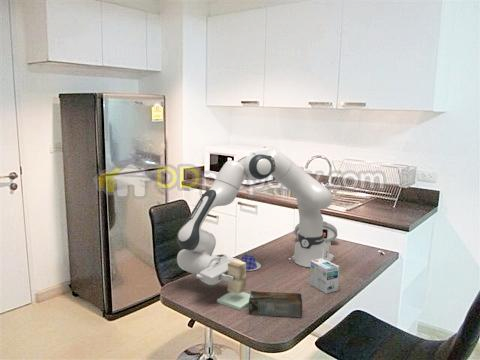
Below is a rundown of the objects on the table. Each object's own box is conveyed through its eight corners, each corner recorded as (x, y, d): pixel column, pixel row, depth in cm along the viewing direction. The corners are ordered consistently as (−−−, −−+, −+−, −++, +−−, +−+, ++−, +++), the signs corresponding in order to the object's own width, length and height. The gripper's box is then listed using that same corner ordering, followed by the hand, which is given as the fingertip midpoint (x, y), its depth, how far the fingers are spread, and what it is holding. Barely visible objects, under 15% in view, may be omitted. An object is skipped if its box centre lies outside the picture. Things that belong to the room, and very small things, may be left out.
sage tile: (234, 291, 163) (234, 289, 163) (256, 299, 157) (257, 296, 157) (217, 302, 154) (217, 299, 154) (240, 310, 148) (240, 307, 148)
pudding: (264, 264, 193) (264, 254, 192) (255, 273, 182) (255, 262, 181) (241, 260, 197) (241, 250, 196) (231, 269, 186) (231, 258, 185)
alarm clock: (293, 243, 223) (294, 220, 220) (294, 239, 229) (295, 217, 226) (336, 246, 218) (338, 223, 216) (336, 242, 224) (337, 220, 222)
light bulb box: (338, 290, 165) (340, 265, 163) (326, 294, 162) (327, 269, 160) (321, 281, 174) (322, 257, 172) (309, 284, 171) (310, 260, 169)
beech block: (235, 286, 158) (235, 259, 156) (245, 289, 155) (246, 262, 153) (227, 290, 154) (227, 263, 152) (238, 294, 151) (238, 266, 149)
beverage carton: (250, 304, 153) (250, 288, 152) (301, 308, 151) (302, 291, 150) (248, 315, 145) (248, 298, 144) (302, 319, 143) (302, 301, 142)
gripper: (193, 267, 152) (222, 277, 144) (225, 252, 168) (253, 260, 161) (193, 283, 153) (221, 293, 145) (225, 267, 170) (253, 275, 162)
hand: (238, 276), depth 153 cm, fingers closed on beech block, 5 cm apart
